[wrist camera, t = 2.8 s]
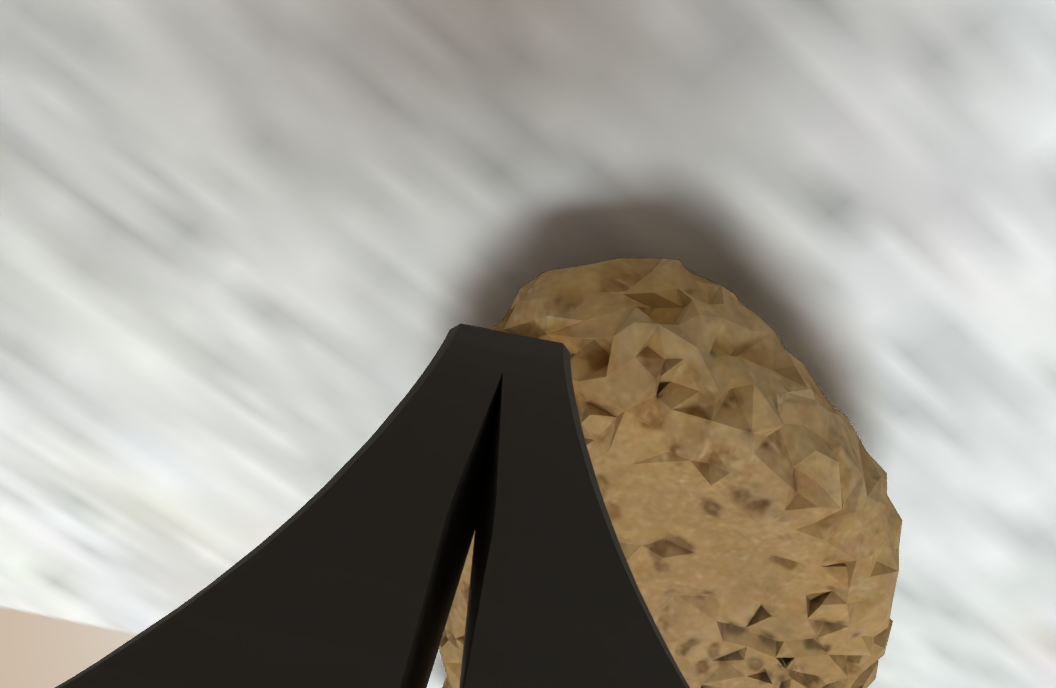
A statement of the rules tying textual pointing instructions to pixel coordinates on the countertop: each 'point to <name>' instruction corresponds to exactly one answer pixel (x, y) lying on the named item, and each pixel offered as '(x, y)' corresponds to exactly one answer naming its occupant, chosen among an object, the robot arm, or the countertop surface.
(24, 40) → the countertop surface
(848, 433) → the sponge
